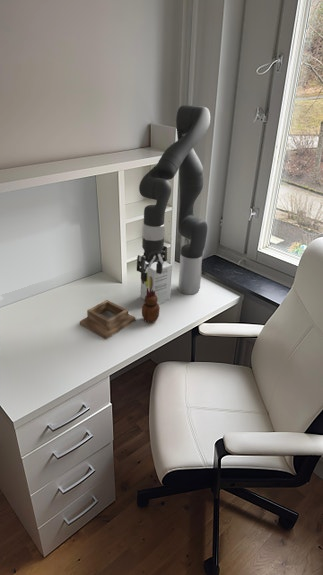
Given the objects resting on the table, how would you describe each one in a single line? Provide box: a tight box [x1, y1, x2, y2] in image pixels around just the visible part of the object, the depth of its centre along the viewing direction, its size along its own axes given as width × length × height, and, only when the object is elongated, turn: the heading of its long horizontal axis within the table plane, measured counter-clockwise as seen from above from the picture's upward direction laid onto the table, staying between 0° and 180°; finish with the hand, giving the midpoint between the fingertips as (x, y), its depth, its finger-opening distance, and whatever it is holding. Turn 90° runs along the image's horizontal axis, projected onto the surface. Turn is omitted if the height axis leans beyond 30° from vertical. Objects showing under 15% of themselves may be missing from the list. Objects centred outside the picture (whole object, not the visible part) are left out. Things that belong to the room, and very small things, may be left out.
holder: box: [79, 299, 137, 340], centre depth 156 cm, size 16×14×6 cm
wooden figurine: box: [141, 288, 161, 324], centre depth 156 cm, size 7×6×15 cm
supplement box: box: [140, 261, 173, 305], centre depth 170 cm, size 10×9×17 cm
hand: (151, 276), depth 150 cm, fingers open, 8 cm apart
